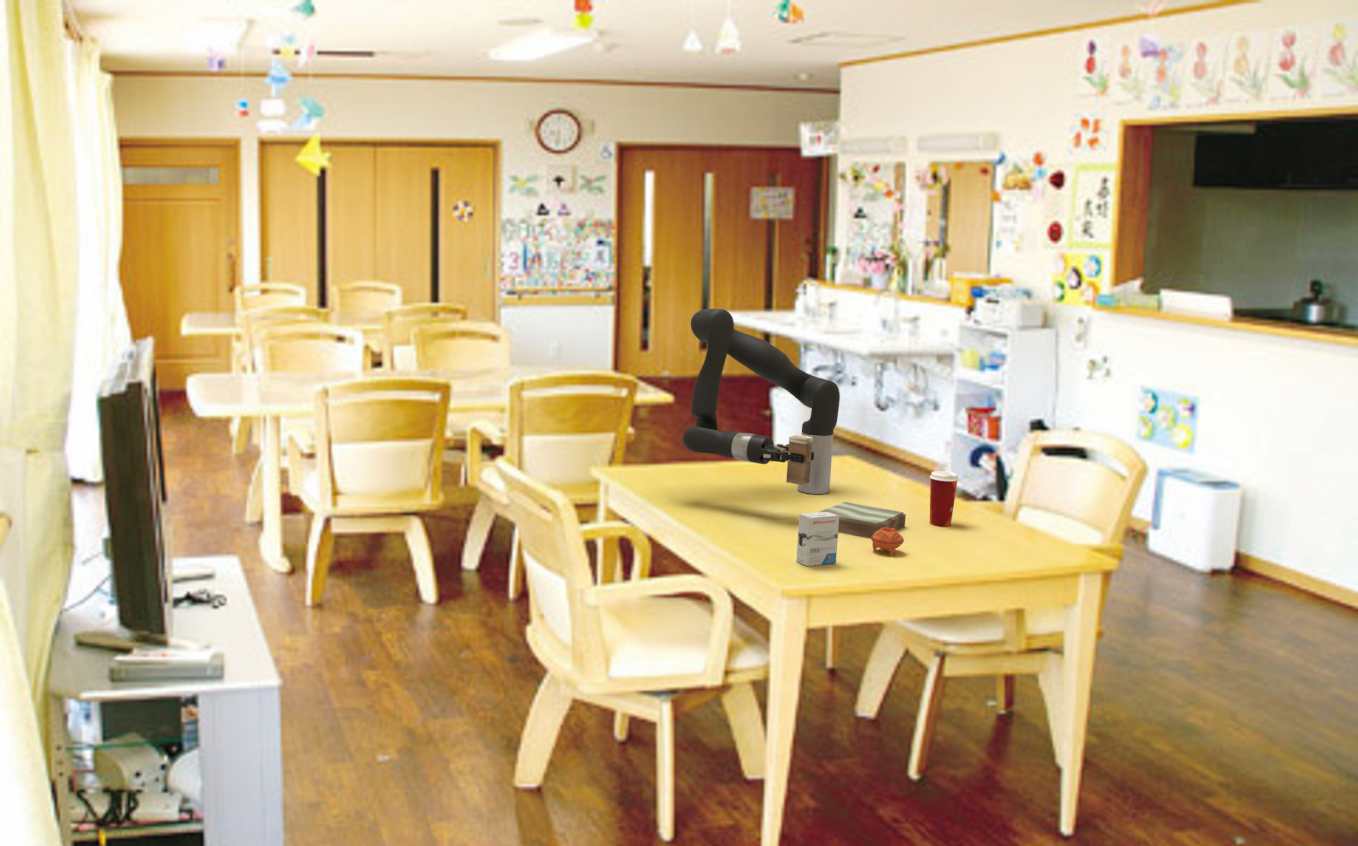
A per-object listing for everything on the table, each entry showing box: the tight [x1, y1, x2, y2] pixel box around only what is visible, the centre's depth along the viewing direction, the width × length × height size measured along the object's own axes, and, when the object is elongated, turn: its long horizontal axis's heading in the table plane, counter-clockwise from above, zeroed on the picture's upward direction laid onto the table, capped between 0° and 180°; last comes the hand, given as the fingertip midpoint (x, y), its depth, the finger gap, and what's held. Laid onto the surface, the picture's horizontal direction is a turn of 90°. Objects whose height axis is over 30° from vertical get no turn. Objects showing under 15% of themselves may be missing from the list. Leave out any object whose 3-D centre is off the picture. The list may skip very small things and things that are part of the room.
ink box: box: [796, 511, 839, 567], centre depth 328 cm, size 8×5×12 cm, turn 118°
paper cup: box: [929, 470, 959, 528], centre depth 374 cm, size 8×8×14 cm
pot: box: [870, 527, 905, 556], centre depth 342 cm, size 8×8×7 cm
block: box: [785, 434, 813, 485], centre depth 365 cm, size 5×5×12 cm
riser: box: [816, 501, 907, 539], centre depth 366 cm, size 18×18×4 cm
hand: (808, 457), depth 364 cm, fingers closed on block, 4 cm apart
